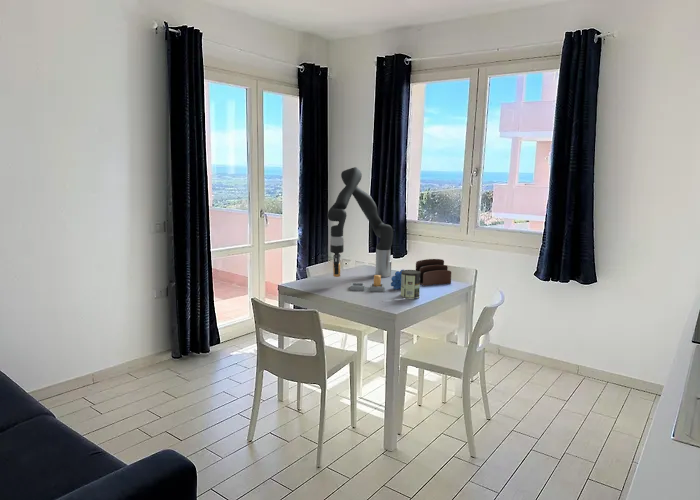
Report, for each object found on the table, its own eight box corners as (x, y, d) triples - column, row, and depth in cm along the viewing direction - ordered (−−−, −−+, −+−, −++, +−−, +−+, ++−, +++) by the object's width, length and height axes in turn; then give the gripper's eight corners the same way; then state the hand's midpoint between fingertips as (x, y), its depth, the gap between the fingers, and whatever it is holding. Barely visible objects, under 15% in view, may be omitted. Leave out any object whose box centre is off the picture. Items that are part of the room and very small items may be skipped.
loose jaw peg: (338, 275, 297) (338, 261, 296) (341, 276, 294) (341, 262, 292) (332, 275, 295) (332, 262, 294) (335, 277, 292) (335, 263, 290)
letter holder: (414, 282, 314) (415, 259, 311) (442, 279, 321) (443, 257, 319) (422, 286, 304) (424, 262, 302) (451, 283, 312) (452, 260, 309)
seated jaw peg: (377, 288, 291) (378, 274, 290) (381, 289, 288) (382, 276, 287) (372, 289, 289) (372, 275, 288) (376, 290, 286) (376, 276, 285)
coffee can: (414, 293, 285) (415, 269, 283) (422, 298, 275) (423, 273, 273) (397, 294, 282) (398, 270, 280) (404, 299, 272) (405, 274, 270)
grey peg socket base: (384, 289, 294) (385, 283, 293) (384, 294, 283) (385, 287, 283) (350, 287, 295) (350, 281, 295) (348, 292, 284) (349, 286, 284)
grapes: (405, 287, 298) (406, 267, 296) (410, 290, 292) (411, 270, 290) (387, 288, 295) (388, 268, 293) (392, 291, 288) (393, 271, 286)
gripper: (331, 241, 298) (331, 270, 301) (329, 246, 284) (329, 276, 287) (344, 242, 298) (344, 270, 301) (342, 246, 284) (342, 276, 287)
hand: (336, 273), depth 294 cm, fingers closed on loose jaw peg, 4 cm apart
